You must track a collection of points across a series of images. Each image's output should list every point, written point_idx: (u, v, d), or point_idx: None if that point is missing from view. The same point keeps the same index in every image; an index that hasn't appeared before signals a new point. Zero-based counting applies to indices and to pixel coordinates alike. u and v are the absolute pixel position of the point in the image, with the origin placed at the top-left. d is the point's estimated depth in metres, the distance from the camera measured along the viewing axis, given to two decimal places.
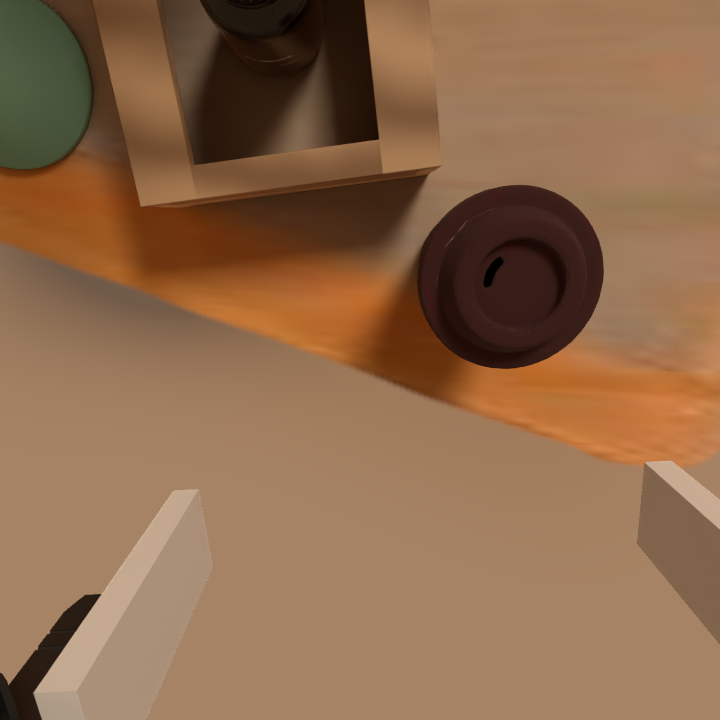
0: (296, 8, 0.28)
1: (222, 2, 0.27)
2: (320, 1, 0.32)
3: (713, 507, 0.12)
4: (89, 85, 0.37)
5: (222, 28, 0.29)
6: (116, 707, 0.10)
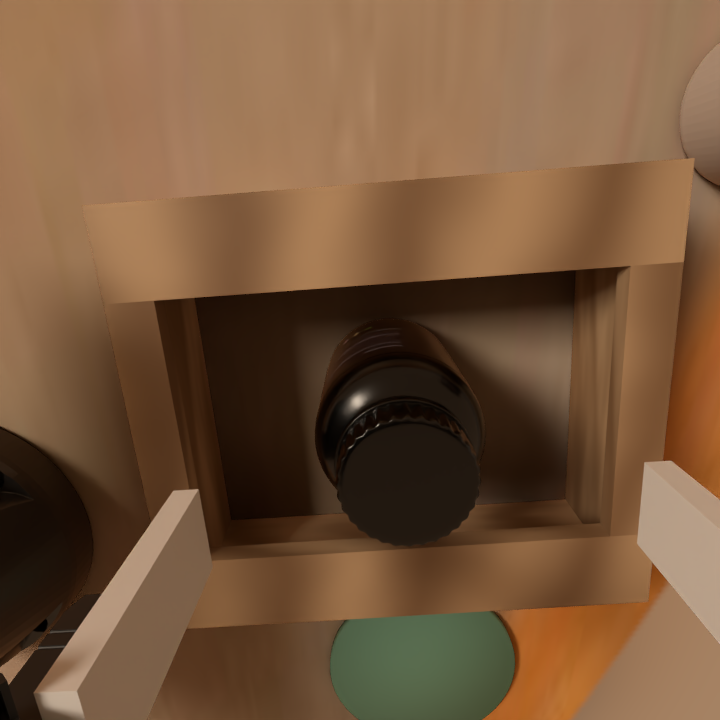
0: (458, 388, 0.19)
1: None
2: (394, 330, 0.23)
3: (713, 507, 0.12)
4: None
5: None
6: (116, 707, 0.10)
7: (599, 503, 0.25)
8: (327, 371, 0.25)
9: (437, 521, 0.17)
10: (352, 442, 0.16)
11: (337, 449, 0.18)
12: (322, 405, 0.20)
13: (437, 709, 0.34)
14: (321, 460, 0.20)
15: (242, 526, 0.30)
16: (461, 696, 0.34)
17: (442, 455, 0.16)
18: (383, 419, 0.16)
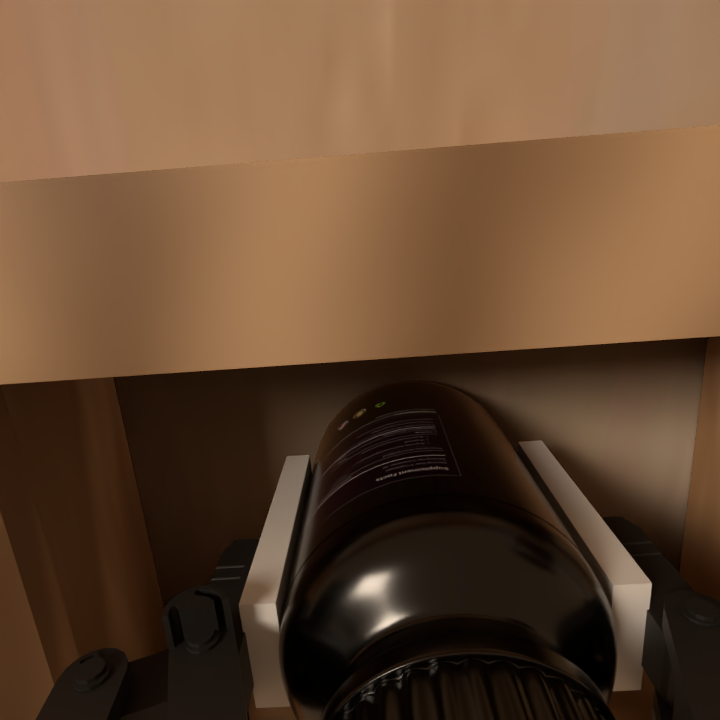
0: (573, 582, 0.09)
1: None
2: (427, 417, 0.14)
3: (557, 477, 0.14)
4: None
5: None
6: None
7: None
8: (312, 476, 0.15)
9: None
10: None
11: None
12: (292, 599, 0.10)
13: None
14: (290, 704, 0.10)
15: None
16: None
17: None
18: None
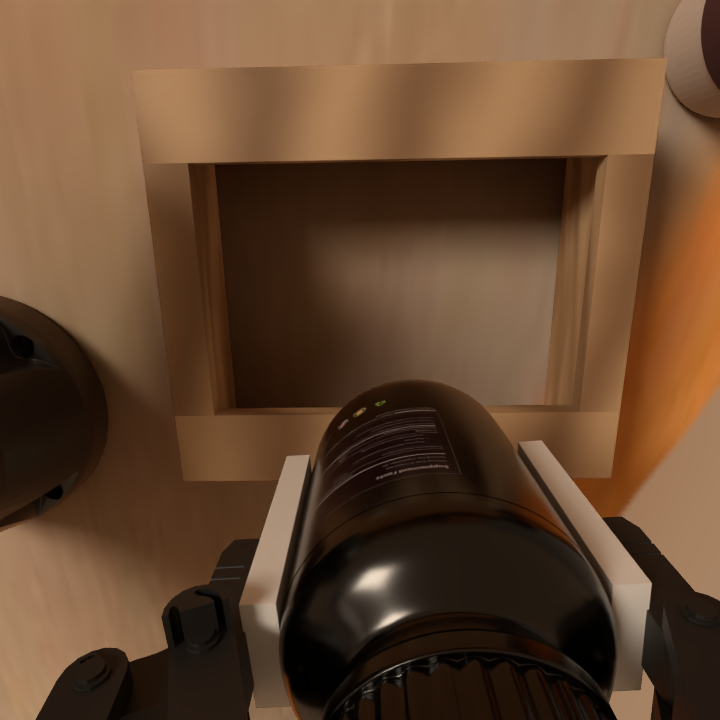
0: (573, 580, 0.09)
1: None
2: (427, 416, 0.14)
3: (557, 477, 0.14)
4: None
5: None
6: None
7: (572, 395, 0.28)
8: (312, 474, 0.15)
9: None
10: None
11: None
12: (292, 597, 0.10)
13: None
14: (290, 702, 0.10)
15: None
16: None
17: None
18: None
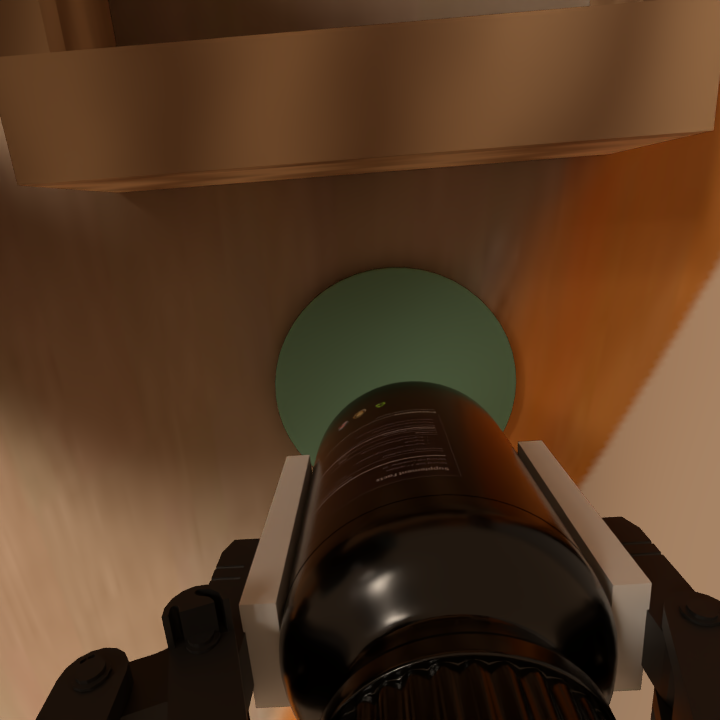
0: (573, 582, 0.09)
1: None
2: (427, 417, 0.14)
3: (557, 477, 0.14)
4: (411, 269, 0.24)
5: None
6: None
7: None
8: (312, 476, 0.15)
9: None
10: None
11: None
12: (292, 600, 0.10)
13: None
14: (290, 704, 0.10)
15: None
16: None
17: None
18: None
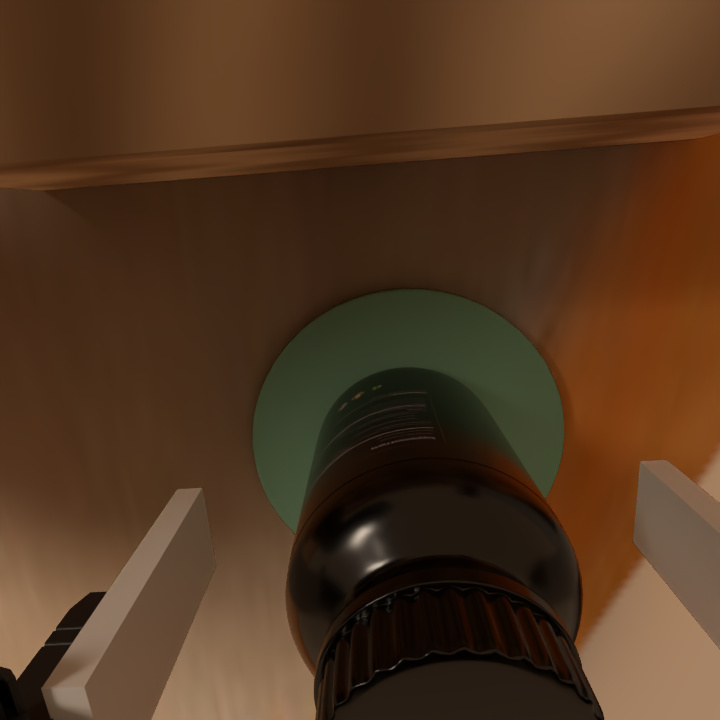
0: (541, 531, 0.10)
1: None
2: (418, 397, 0.15)
3: (707, 506, 0.12)
4: (429, 291, 0.18)
5: None
6: (122, 703, 0.10)
7: None
8: (314, 453, 0.16)
9: None
10: (347, 686, 0.08)
11: (319, 665, 0.09)
12: (297, 550, 0.11)
13: None
14: (296, 643, 0.11)
15: None
16: None
17: None
18: (410, 646, 0.08)
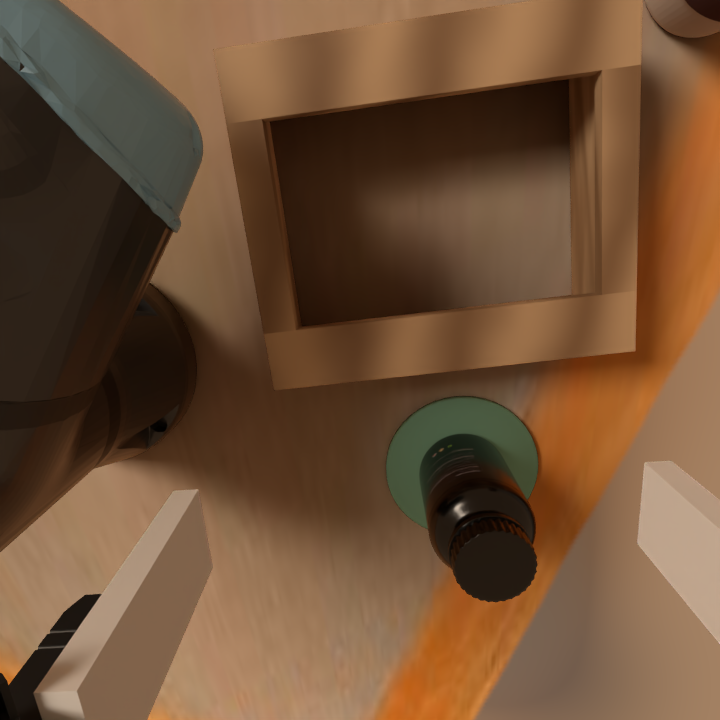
0: (518, 502, 0.31)
1: None
2: (469, 451, 0.36)
3: (713, 507, 0.12)
4: (470, 398, 0.39)
5: None
6: (116, 707, 0.10)
7: (595, 289, 0.33)
8: (424, 476, 0.37)
9: (512, 587, 0.29)
10: (463, 544, 0.29)
11: (450, 545, 0.30)
12: (434, 512, 0.32)
13: None
14: (434, 546, 0.32)
15: None
16: None
17: (514, 551, 0.28)
18: (479, 531, 0.28)
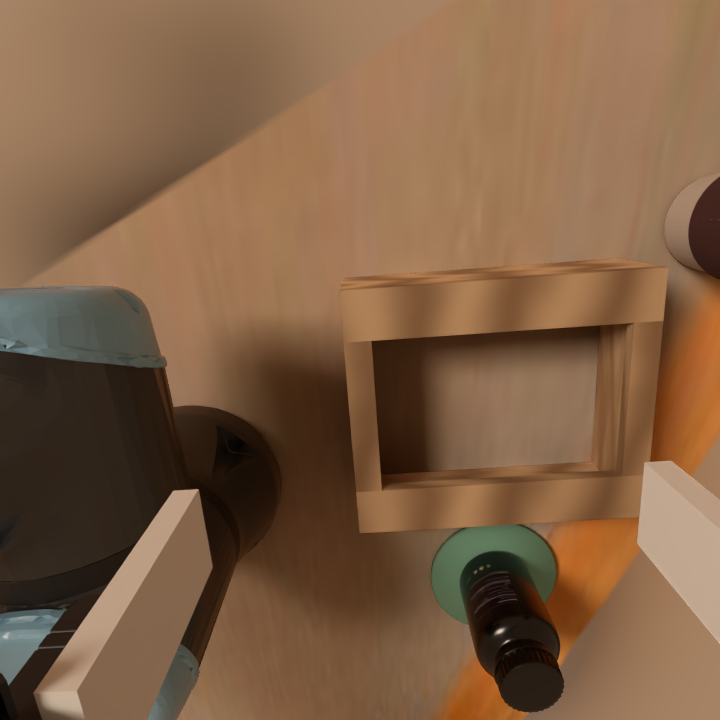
0: (548, 630, 0.40)
1: None
2: (506, 575, 0.44)
3: (713, 507, 0.12)
4: None
5: None
6: (116, 707, 0.10)
7: (614, 460, 0.41)
8: (466, 589, 0.46)
9: (544, 702, 0.38)
10: (508, 670, 0.37)
11: (496, 666, 0.39)
12: (481, 634, 0.41)
13: None
14: (480, 659, 0.41)
15: (381, 478, 0.46)
16: None
17: (547, 677, 0.37)
18: (522, 662, 0.37)
